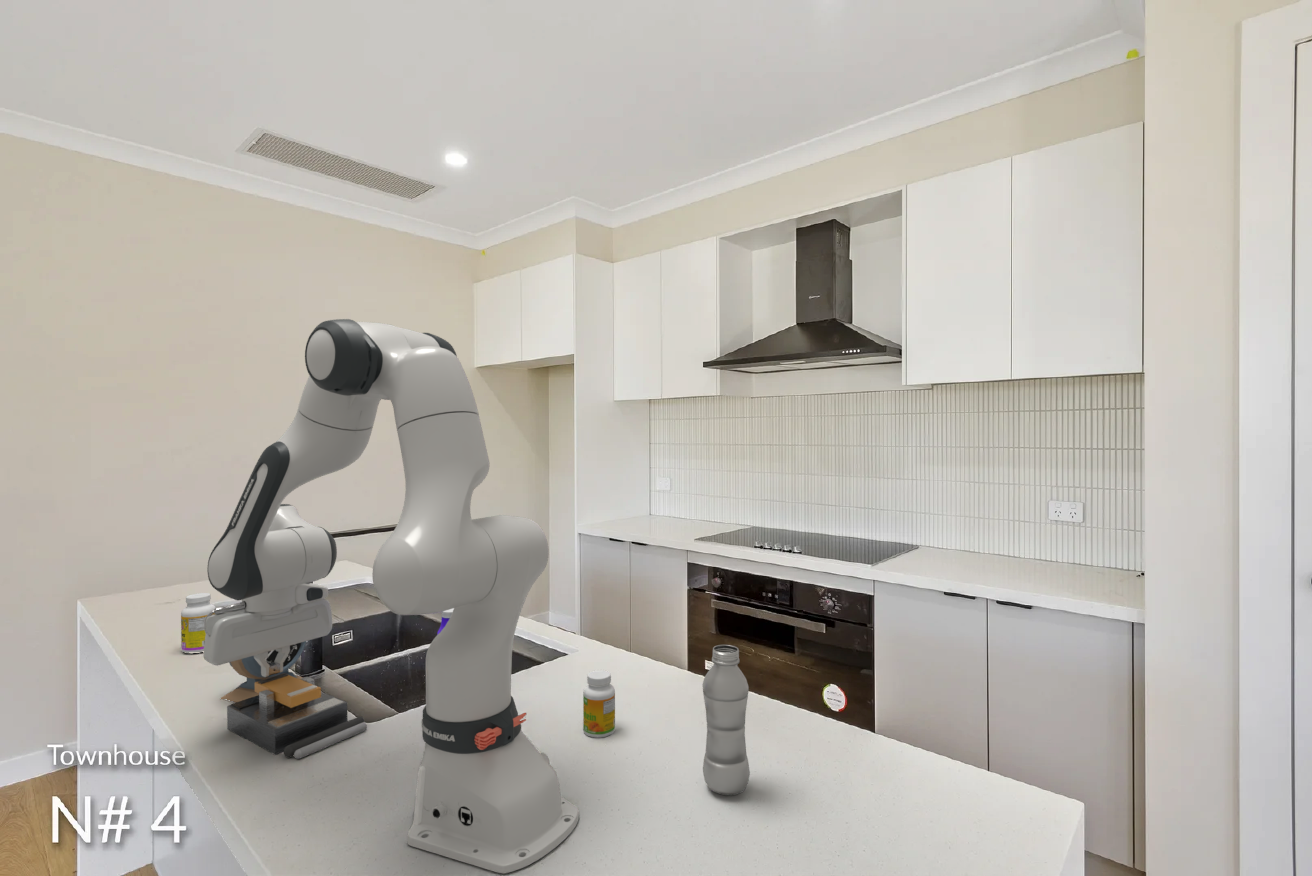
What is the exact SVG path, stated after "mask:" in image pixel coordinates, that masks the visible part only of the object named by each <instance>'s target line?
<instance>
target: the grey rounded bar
mask: <svg viewBox="0 0 1312 876" xmlns="http://www.w3.org/2000/svg"><path fill="white" fill-rule="evenodd" d="M367 729H368V726H367V723H366V722H365V719H364V717H363V716H361V715H360V716H357V717H354V718H352V719H350V720H348V721H347V722H345V723H342V724H340V725H337V726H335V727H332V728H330V729H327V730H325V731H322V732H320V733H317V734H315V735H312V736H310V737H308V738H305V739H303V740H300V741H298V742H295V743H293V744H290V745H288V746H287V747H286V748H285V749H284V752H283V755H284V757H286V758H292V757H294V758H295V759H297V760H299V759H302V758H304V757H307V756H309V755H312V754H314V753H316V752H318V751H321V750H323V749H326V748H328V747H331V746H332V745H335V744H337V743H340V742H341V741H344V740H347V739H349V738H352V737H353V736H355V735H358V734H360V733H362V732H365V731H367Z"/></svg>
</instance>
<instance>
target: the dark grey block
mask: <svg viewBox="0 0 1312 876" xmlns="http://www.w3.org/2000/svg"><path fill="white" fill-rule="evenodd" d="M300 680H303V681H305V682H308V683H310V684H313V685H315V679H314V678H311V677H309V676H303V678H301V679H300ZM348 714H349V713H348V701H345V700H342V699H340V698H338V697H335V696H333V695H330V694H328V693H326V692H323V691H321V697H320V698H317V699H314V700H312V701H309V702H306V703H303V704H300V705H298V706H295V707H292V708H290V707H288V706H286V705H284V704H281V703H279V702H277V701H275V700H274V693H273V692H271V691H269V690H264V691H261V692H259V695H257V696H254V697H251V698H248V699H245V700H242V701H239V702H232V703H230V704H228V705H227V706H226V716H227V719H226V722H227V723H226V728H227V730H228V731H230V732H232V733H234V734H236V735H238V736H240V737H241V738H244V739H245V740H247V741H249V742H250V743H252V744H254V745H256V746H258V747H260V748H262V749H263V750H266V751H267V752H270V753H272V754H273V755H274V756H276V755H278V754H281V753H284V749H285V748H286V747H287V746H288V745H290V744H293V743H295V742H298V741H300V740H303V739H305V738H308V737H310V736H312V735H315V734H317V733H320V732H322V731H325V730H327V729H330V728H332V727H335V726H337V725H340V724H342V723H345V722H347V721H349V720H348Z"/></svg>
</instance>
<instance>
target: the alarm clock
mask: <svg viewBox="0 0 1312 876" xmlns="http://www.w3.org/2000/svg"><path fill="white" fill-rule="evenodd" d="M306 643H307V641H304V642H301V643H297V644H294V645H290V652H289V654H288V656H287V657H286V659H285V661H284V662H283V672H281V673H277V674H274V675H271V676H268V677H263V676H262V675H261V666H260V665H259V664H258V662H257V661H256V660H255V659H254V656H250V657H247V658H243V659H240V660H236V661H232V662H229V666H230V667H232V669H233V670H234V671H235V672H236V673H238V675H240V676H242V677H244V678H246V681H244V682H242V683H240V685H238V686H237V687H235V688H234V689H233V690H232V691H229V692H228V693H226V694H224V695H222V696H221V697H220V698H221V699H227V700H230V701H229V702H231V701H234V702H233V703H236V702H239V701H242V700H245V699H248V698H251V697H254V696H257V695H259V693H257V692H255V682H258V681H261V680H264V679H267V678H270V677H274V676H277V675H280V674H283V673H285V674H288V675H290V676H293V677H295V678H298V679H301V678H304V676H303V677H302V676H300V675H295V674H294V673H293V672H291V671H289V669H290V668H291V667H293V665H295V664H296V663H297V661H298V660H299V659H300V658H301V655H302V654H303V651H304V650H305V646H306ZM277 654H278V651H276V650H272V651H268V658H265V660H266V661H267V663H272V662H274V661H275V659H276V657H277ZM221 699H220V700H221Z"/></svg>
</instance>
